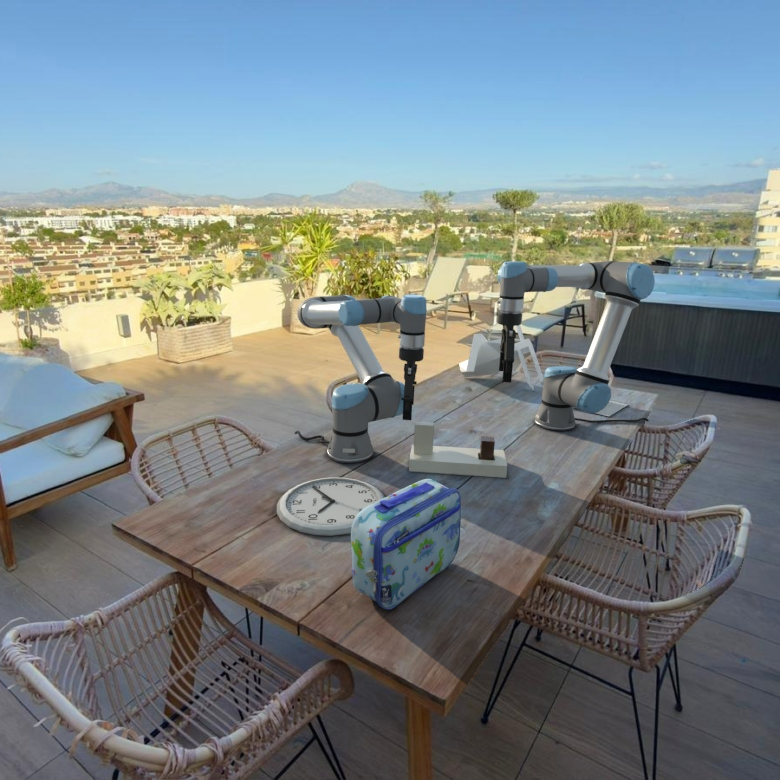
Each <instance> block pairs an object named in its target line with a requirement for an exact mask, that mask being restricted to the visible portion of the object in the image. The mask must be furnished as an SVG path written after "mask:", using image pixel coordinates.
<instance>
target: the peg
mask: <svg viewBox="0 0 780 780" xmlns="http://www.w3.org/2000/svg"><path fill="white" fill-rule="evenodd" d="M495 444H496V440H495V437H494V436H485V435H481V436H480V444H479V445H480V447H479V449H480V459H479V460H493V457H494V450H495Z"/></svg>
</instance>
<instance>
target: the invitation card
mask: <svg viewBox="0 0 780 780" xmlns="http://www.w3.org/2000/svg"><path fill="white" fill-rule="evenodd" d="M628 406H629V404H627V403H623V402H618V401H614V400H610V401H609V403H608V404H607V405H606V407H605V408H604V409H602V410H600V411H599V412H597V413H595V414H596V415H600V416H604V417H608V418H609V417H611V416H613V415H614V414H616V413H617V412H619V411H621V410H623V409H624V408H626V407H628ZM573 409H575V410H578V409H577V408H575V407H573Z"/></svg>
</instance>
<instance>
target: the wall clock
mask: <svg viewBox="0 0 780 780" xmlns="http://www.w3.org/2000/svg"><path fill="white" fill-rule="evenodd" d="M385 497H386V496H385V494H384V493H383V492H382V491H381V490H380V489H379V488H377V487H376V486H374V485H372V484H371V483H369V482H365V481H362V480H359V479H355V478H349V477H338V476H337V477H335V476H333V477H332V476H331V477H322V478H317V479H312V480H307V481H305V482H302V483H299V484H297V485H295V486H293V487H292V488H290V489H288V490H287V491H286V492H285V493H284V494H283V495H281V496H280V498H279V499H278V502H277V503H276V515H277V517H278V518H279V520H280V521H281V522H282V523H283V524H285V525H286V526H287V527H288V528H290V529H293V530H295V531H297V532H299V533H303V534H308V535H312V536H327V537H328V536H329V537H331V536H332V537H333V536H342V535H350V534H351V529H352V524H353V521H354V519H355V517H356V516H357V514H358V513H359V512H360V511H361V510H362V509H364V508H366V507H367V506H369V505H371V504H374V503H375V502H377V501H379V500H381V499H383V498H385Z"/></svg>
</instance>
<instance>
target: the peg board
mask: <svg viewBox="0 0 780 780" xmlns="http://www.w3.org/2000/svg"><path fill="white" fill-rule="evenodd" d="M434 428H435V422H434V421H433V422H432V421H417V420H416V421H414V429H413V444H411V450H410V454H409V460H408V472H414V473H427V474H428V473H429V474H430V473H431V474H442V475H443V474H445V475H446V474H447V475H458V476H460V475H461V476H472V477H473V476H474V477H489V478H502V479H503V478H504V479H506V478H507V476H508V462H507V459H506V452H505V450H504V449H494V457H493V460H479V459H480V448H474V447H460V446H459V447H457V446H444V445H443V446H441V445H434V437H435V436H434V433H435V432H434V431H435V429H434Z"/></svg>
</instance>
